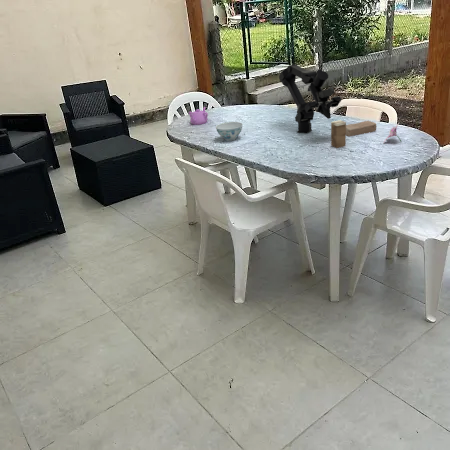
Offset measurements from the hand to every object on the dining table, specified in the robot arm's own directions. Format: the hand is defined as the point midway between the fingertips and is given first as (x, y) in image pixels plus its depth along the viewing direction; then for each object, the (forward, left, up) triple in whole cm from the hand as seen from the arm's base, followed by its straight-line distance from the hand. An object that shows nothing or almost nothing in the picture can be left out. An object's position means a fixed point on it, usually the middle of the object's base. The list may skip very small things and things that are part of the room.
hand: (329, 118), depth 224 cm
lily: (+29, +9, -13) cm, 33 cm away
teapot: (-98, +16, -13) cm, 100 cm away
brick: (+8, +20, -13) cm, 25 cm away
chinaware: (-56, -9, -13) cm, 58 cm away
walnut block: (+6, -4, -12) cm, 15 cm away
